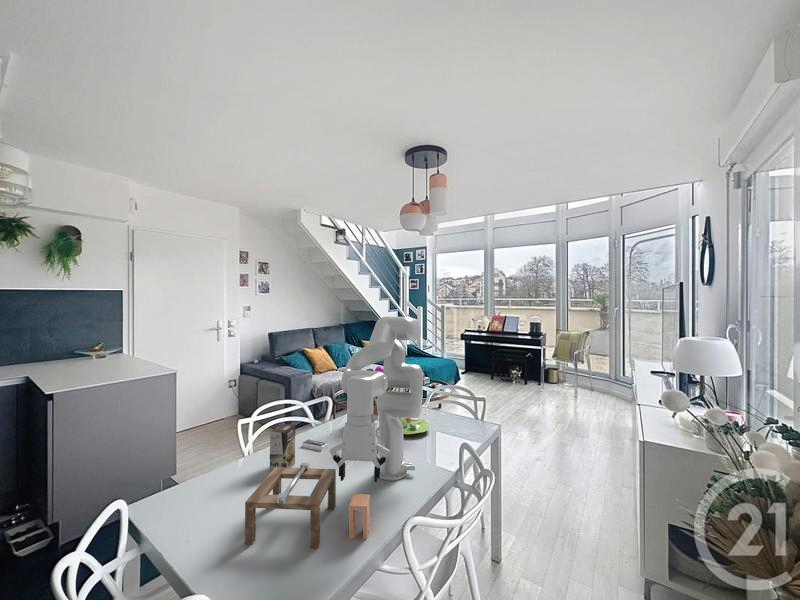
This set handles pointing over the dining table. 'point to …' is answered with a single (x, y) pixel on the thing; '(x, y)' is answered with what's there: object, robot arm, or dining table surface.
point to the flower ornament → (410, 423)
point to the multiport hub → (314, 445)
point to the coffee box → (282, 446)
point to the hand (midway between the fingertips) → (359, 479)
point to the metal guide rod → (292, 484)
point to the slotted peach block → (356, 504)
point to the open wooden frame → (292, 499)
